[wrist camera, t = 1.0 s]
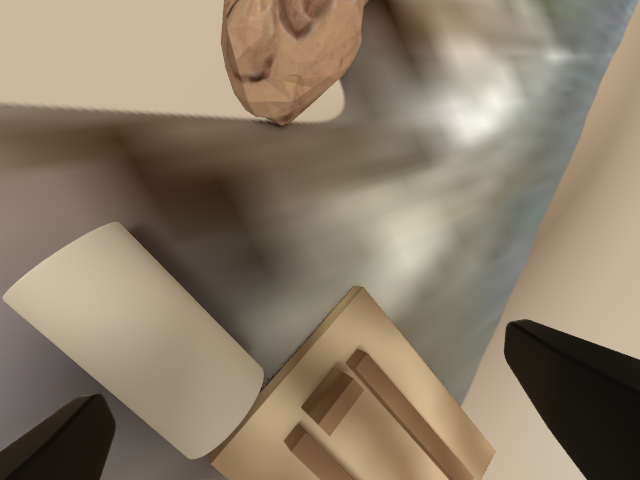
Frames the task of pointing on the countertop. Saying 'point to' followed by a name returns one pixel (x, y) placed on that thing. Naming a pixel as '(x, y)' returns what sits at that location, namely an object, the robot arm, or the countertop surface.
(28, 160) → the countertop surface
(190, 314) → the roll
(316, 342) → the holder
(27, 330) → the countertop surface
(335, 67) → the rock
